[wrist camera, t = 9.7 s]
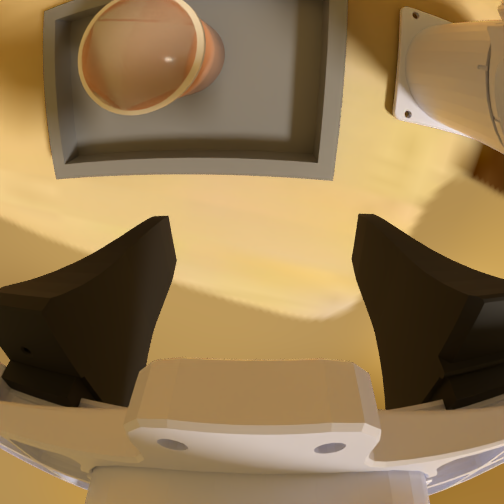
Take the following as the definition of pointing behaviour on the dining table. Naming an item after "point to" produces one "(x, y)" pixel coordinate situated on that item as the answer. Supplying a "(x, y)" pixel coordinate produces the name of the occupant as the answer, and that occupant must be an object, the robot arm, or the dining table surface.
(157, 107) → the cup
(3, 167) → the dining table surface
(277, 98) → the serving tray
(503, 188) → the dining table surface
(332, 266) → the dining table surface
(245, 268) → the dining table surface
